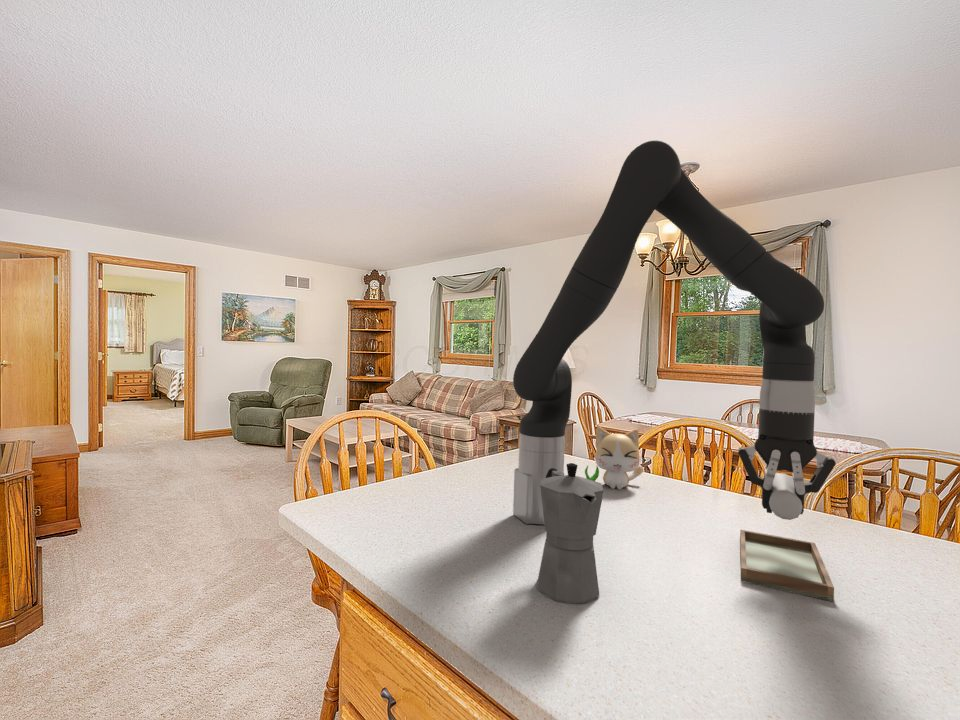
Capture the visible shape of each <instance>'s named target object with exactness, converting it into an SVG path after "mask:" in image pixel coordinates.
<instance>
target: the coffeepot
mask: <svg viewBox="0 0 960 720" xmlns="http://www.w3.org/2000/svg"><path fill="white" fill-rule="evenodd" d="M577 469H578V464H576V463H574V462H571V463H566V471H567V475H566V474H565V473H563V472H561V471H558V470H557V469H555V468H551V469H549V471H548V473H547V475H546V478H543V479H541V484H540V487H541V496H542V506H543V515H544V531H546V534H545V537H546V538H545V541H544V546H543V551H542V556H541V562H540V567H539V571H538V577H537V587H536V588H537V590H538V591H539V592H540V593H541V594H542V595H544V596H545V597H547V598H548V599H550V600H553V601H557V602H560V603H565V604H572V605H573V604H576V605H577V604H584V603H585V604H586V603H590V602H592V601H594V600H596V598H597V597H599V596H600V588H599V580H598V573H597V564H596V554H595V546H594V537H595V536H596V534H597V529H598V528H597V527H598V523H599V518H600V513H601V507H602V502H603V497H604V492H605V491H604V487H603V484H602V483H601V482H599V481H596V480H595V481H592V480H589V479H586V478H585V477H582V476H578V475H576V474H577Z"/></svg>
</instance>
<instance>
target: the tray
mask: <svg viewBox="0 0 960 720" xmlns="http://www.w3.org/2000/svg"><path fill="white" fill-rule="evenodd" d="M739 532H740V533H739V551H740V552H739V555H740V556H739V557H740V558H739V559H740V561H739V563H740V582H743V583H744V582H745V583H748V584H754V585H757V586H762V587H767V588H769V589H770V588H771V589H775V590H780V591H784V592H788V593H793V594H796V595H802V596H806V597H810V598H816V599H818V600H824V601H828V602H833V603H834V601H835V599H834V597H835V586H834V584H833V582H832V579H831V577H830V575H829V573H828V570H827V568H826V565H825V563H824V561H823V558H822V556H821V554H820V552H819V549H818V547H817V545H816V543H815V542H812V541H806V540H801V539H796V538H790V537H783V536H778V535H775V534H774V535H772V534H768V533H762V532H758V531H757V532H756V531H752V530H745V529H740V531H739Z"/></svg>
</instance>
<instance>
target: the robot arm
mask: <svg viewBox="0 0 960 720" xmlns="http://www.w3.org/2000/svg"><path fill="white" fill-rule="evenodd" d="M678 155H679V154H677V152H676V151H675V149H674V148H673V146H672V145H670V144H668V143H667V142H665V141H663V140H658V139H655V140H649V141H645V142H644V143H641V144H640V145H639V144H638V146H636V147H635V148H634V149H633V150H632V151H630V153H629V154H628V156H627V157H626V159H625V160H624V162H623V164H622V165H621V169H620V172H619V174H618V176H617V179H616V181H615V184H614V186H613V189H612V191H611V194H610V197H609V198H608V201H607V203H606V205H605V208H604V210H603V212H602V215H601V216H600V218H599V220H598V222H597V223H596V225H595V226H594V228H593V230H592V231H591V233H590V235H589V236H588V238H587V240H586V242H585V243H584V245H583V247H582V249H581V251H580V252H579V254H578V256H577V257H576V260H575V261H574V263H573V264H572V266H571V269H570V270H569V273H568V274H567V277H566V278H565V281H564V282H563V283H562V286H561V289H560V290H559V293H558V295H557V297H556V298H555V300H554V302H553V304H552V306H551V307H550V310H549V311H548V314H547V315H546V317H545V319H544V321H543V322H542V325H541V327H540V328H539V330H538V331H537V333H536V334H535V336H534V337H533V339H532V341H531V342H530V343H529V345H528V347H527V348H526V350H525V351H524V352H523V354H522V355H521V358H520V359H519V361H518V362H517V364H516V367H515V369H514V372H513V380H512V382H513V388H514V391H515V393H516V394H517V396H518V397H519V398H521V399H523V400H524V401H530V402H532V404H531V406H530V407H531V408H530V409H529V410H528V412H527V413H526V414H525V415H524V416H523V417H522V418H521V419H520V421H519V433H518V434H519V440H518V441H519V442H518V443H519V444H518V468H514V474H513V475H514V476H513V501H512V503H513V504H512V505H513V507H512V515H514V516H515V517H516V518H518V519H519V520H520V521H522V522H523V523H524V524H526V525H529V524H530V525H531V524H533V525H544V515H543V506H542V496H541V487H540V484H541V479H543V478H546V475H547V473H548V471H549V469H551V468H555V469H557V470H558V471H561V472H563V473H564V471H565V469H564V468H565V467H564V466H565V440H566V439H565V437H566V427H567V424H568V422H569V419H570V415H571V402H572V389H573V387H572V386H573V379H572V377H573V376H572V372H571V371H572V370H571V368H570V366H569V364H568V363H567V361H566V360H565V359H564V356H565V354H566V352H567V351H568V350H569V348H570V347H571V346H572V345H573V343H574V342H576V340H577V339H578V338H579V337H581V335H582V334H584V332H585V331H587V330H588V329H589V328H590V327H591V326H592V325H593V324H594V323H595V322H596V321H597V320H598V319H599V318H600V317H601V315H603V314H604V312H605V311H606V309H607V308H608V306H609V304H610V303H611V302H612V299H613V298H614V296H615V295H616V293H617V291H618V288H619V286H620V285H621V282H622V281H623V278H624V276H625V274H626V272H627V269H628V266H629V264H630V261H631V258H632V255H633V253H634V249H635V247H636V244H637V241H638V239H639V237H640V234H641V232H642V230H643V229H644V227H645V225H646V224H647V222H648V221H649V219H650V217H651V216H652V214H654V211H656V212H658V213H659V214H660V215H662V216H663V217H665V218H666V219H667V220H669V221H670V222H671V223H672V224H674V226H676V227H677V229H679V230H680V231H681V232H682V233H683V234H684V235H685V237H687V238H688V239H689V240H690V241H691V242H692V243H693V245H694V246H695V248H697V249H698V250H699V252H700V253H701V254H702V255H703V256H704V258H706V259H707V260H708V261H709V262H710V264H711V265H712V266H714V267H715V269H717V270H718V272H720V273H721V275H723V277H725V279H727V280H728V281H729V282H730V283H731V284H732V285H733V286H734V287H736V288H737V289H738V290H741V291H745V292H748V293H750V294H752V295H753V296H754V297H755V298H756V299H757V300H759V301H760V302H761V303H760V307H759V314H758V315H759V317H758V319H759V321H758V323H759V330H760V337H761V338H760V339H761V342H762V347H763V360H762V380H761V385H760V390H759V399H758V405H759V408H758V409H759V411H758V412H759V413H758V436H757V439H756V440H755V441H754V444H753V445H749V446H746V447H744V446H741V447H739V448H738V451H737V452H738V455H739V458H740V460H741V462H742V465H743V467H744V469H745V471H746V474H747V476H748V478H749V480H750V483H751V484H753V485H756V486H758V487H759V488H760V489H761V488H762V489H761V494H762V495H761V506H762V508H763V509H766V513H768V514H773V511H772V510H771V508H770V505H769V501H770V496H771V494H772V492H773V491H772V490H771V488H772V484H773V480H774V477H775V474H776V473H777V471H787V472H789V473H791V474H792V477H793V481H794V489H795V493H796V495H797V497H798V498H799V499H800V500H801V503H802V506H803V507H802V512H801V514H800V515H803V514H804V510H805V508H804V507H805V496H806V495H807V494H811V493H813V494H816V493H819V492H820V489H821V488H822V486H824V484H825V482H826V480H827V478H829V475H830V474H831V473H832V471H833V470H834V467H835V466H836V464H837V463H836V460H834V458H833V457H831V456H829V455H825V454H822V453H820V452H818V450H817V447H816V446H815V442H814V439H815V437H814V435H815V409H816V408H815V407H816V390H815V382H814V381H815V365H816V364H815V363H816V362H815V360H816V359H815V352H814V349H813V348H812V346H810V345H808V343H807V332H806V326H809V325H811V324H813V323H815V322H817V321H818V319H820V317H821V316H822V314H823V312H824V310H825V301H824V296H823V295H822V293H821V290H819V289H818V287H817V285H815V283H813V282H812V281H811V280H809V279H808V278H807V277H805V276H804V275H803V274H801V273H800V272H798V271H796V270H795V269H793V268H792V267H790V266H789V265H787V264H785V263H784V262H782V261H781V260H779V259H777V258H776V257H774V256H773V255H772V254H771V253H770V252H769V250H767V248H765V247H764V246H763V245H762V244H761V243H760V242H759V241H758V240H757V239H756V238H755V237H754V236H753V235H752V234H750V232H748V231H747V230H746V229H745V228H743V227H742V226H741V225H740V224H739V223H737V222H736V221H734V219H732V218H730V216H728V215H727V214H726V213H724V212H723V211H721V210H720V209H718V208H717V207H716V206H715V205H714V204H712V203H711V201H709V200H708V199H707V197H705V196H704V195H703V194H702V193H701V192H700V191H699V190H698V188H696V186H695V185H694V184H693V182H692V181H691V180H690V178H689V177H688V175H686V173H685V172H684V170H683V168H682V165H681V161H680V158H679V156H678ZM756 452H757V454H758V455H759V456H760V457H761V459H762V460H763V462H764V464H765V470H764V475H763V477H761V476H759V475H758V473H757V470H756V468H755V466H754V464H753V461H752V460H755V453H756ZM814 459H815V466H816V467H817V469H816V470H815V472H813V473H814V474H813V475H812V477H811V478H810V480H809V481H808V482H804V474H803V469H804V468H805V467H806V466H808V465H809V464H810V462H811V461H812V460H814ZM564 474H565V473H564ZM798 518H799V516H798V517H797V518H796V519H798ZM544 526H545V525H544Z"/></svg>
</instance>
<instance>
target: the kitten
mask: <svg viewBox="0 0 960 720" xmlns="http://www.w3.org/2000/svg"><path fill="white" fill-rule="evenodd" d="M639 433H640V432H639V430H638V429H637V428H635V429H633V430H631V431H629V432H627V433H624V434H622V433H610V432H608V431H607V430H605V429H604V428H603V427H601V426H597V427H596V432H595V456H594V459H595V464H596V468H595V471H594V473H593V474H592V476H591V477H590V475H589V473H588V469H589V465H586V468H585V470H584V474H585V477H586V479H589V480H592V481H596V480H597V479H598V478H599V475H600V469H602V470H605V472H604V473H603V476H602V480H603V483H604V484H605V486H606V485H607V486H609V487H610V488H611V489H612V490H614V489H616V488H617V489H618V490H619V491H620V490H622V489H623V488H625V487H627V486H628V485H629V483H630V481H633V480H635V479H636V478H637V477H638V476H640V475H641V474H643V473H644V467H643V466H642V465H641V464H640V452H639V447H640V442H639V437H640V436H639ZM599 468H600V469H599ZM630 472H631V473H630ZM628 473H630V474H628Z"/></svg>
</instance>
